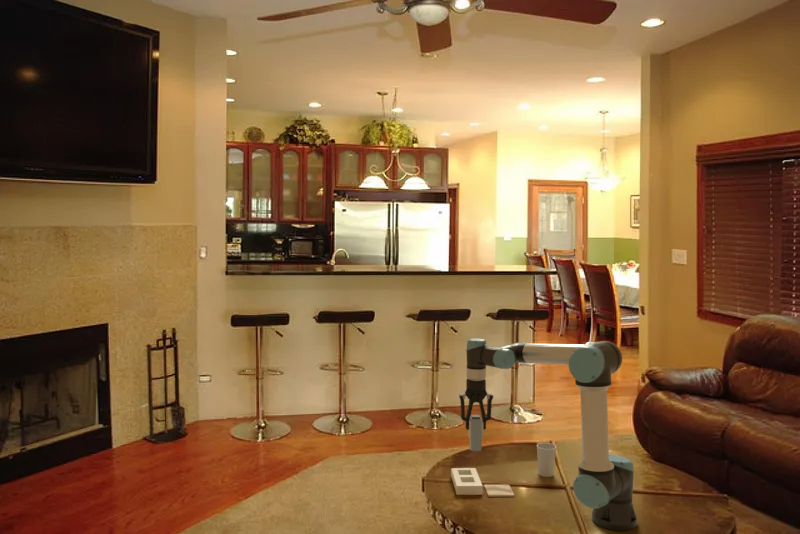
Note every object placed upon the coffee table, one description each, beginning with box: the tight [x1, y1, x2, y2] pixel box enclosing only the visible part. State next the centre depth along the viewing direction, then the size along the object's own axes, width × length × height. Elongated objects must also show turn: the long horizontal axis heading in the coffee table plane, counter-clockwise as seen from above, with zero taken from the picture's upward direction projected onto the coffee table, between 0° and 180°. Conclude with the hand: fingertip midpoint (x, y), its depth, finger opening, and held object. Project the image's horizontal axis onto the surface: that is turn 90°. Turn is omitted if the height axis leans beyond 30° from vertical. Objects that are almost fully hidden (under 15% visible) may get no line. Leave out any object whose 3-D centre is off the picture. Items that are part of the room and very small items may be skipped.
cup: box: [536, 442, 557, 478], centre depth 272 cm, size 8×8×12 cm
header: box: [450, 467, 484, 496], centre depth 260 cm, size 18×10×4 cm, turn 2°
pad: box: [483, 484, 515, 498], centre depth 255 cm, size 10×10×1 cm
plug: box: [469, 414, 483, 452], centre depth 255 cm, size 4×4×13 cm
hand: (475, 437), depth 255 cm, fingers closed on plug, 4 cm apart
